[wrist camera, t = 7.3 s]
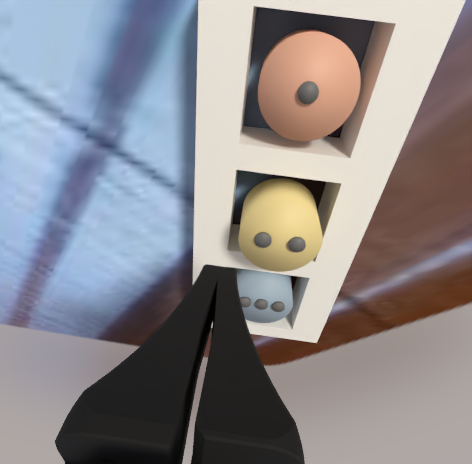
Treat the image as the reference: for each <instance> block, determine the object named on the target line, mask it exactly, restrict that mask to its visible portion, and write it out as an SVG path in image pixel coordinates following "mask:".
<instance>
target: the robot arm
mask: <svg viewBox="0 0 472 464" xmlns="http://www.w3.org/2000/svg"><path fill="white" fill-rule="evenodd" d="M212 322H213V327H212V339H211V346H210V351H209V357H208V362H207V367H206V372H205V378H204V383H203V388H202V392H201V398H200V402H199V407H198V412H197V417H196V422H195V431H194V445H193V455H192V460H191V464H305V463H304V454H303V449H302V444H301V440H300V436H299V433H298V429H297V426H296V423H295V421H294V419H293V418H292V416H291V415H290V413H289V411H288V410H287V408H286V406H285V405H284V403H283V402H282V400H281V398H280V396H279V395H278V393H277V391H276V389H275V387H274V386H273V384H272V382H271V380H270V378H269V376H268V374H267V372H266V370H265V368H264V366H263V364H262V362H261V360H260V357H259V355H258V353H257V350H256V348H255V345H254V343H253V340H252V338H251V335H250V332H249V329H248V326H247V323H246V320H245V317H244V313H243V309H242V305H241V301H240V297H239V291H238V284H237V270H236V269H235V268H229V267H222V266H215V265H208V264H206V265H204V266H203V268H202V270H201V272H200V274H199V276H198V278H197V279H196V281H195V283H194V284H193V286H192V287H191V289H190V290H189V292H188V293H187V294H186V296H185V297H184V299H183V300H182V301H181V303H180V304H179V305H178V306H177V308H176V309H175V310H174V311H173V313H172V314H171V315H170V316H169V317H168V319H167V320H166V321H165V322H164V323H163V324H162V325H161V326H160V327H159V328H158V330H157V331H156V332H155V333H154V334H153V335H152V336H151V337H150V338H149V339H148V340H147V341H145V342H144V343H143V344H142V345H141V346H140V347H139V348H138V349H137V350H136V351H135V352H134V353H132V354H131V355H130V356H129V357H128V358H127V359H125V360H124V361H123V362H122V363H120V364H119V365H118V366H117V367H116V368H114V369H113V370H112V371H111V372H109V373H108V374H107V375H105V376H104V377H102V378H101V379H100V380H98V381H97V382H96V383H94V384H93V385H92V386H90V387H89V388H87V389H86V390H85V391H84V392H83V393H82V395H81V396H80V397H79V399H78V400H77V401H76V403H75V405H74V406H73V407H72V409H71V411H70V413H69V414H68V416H67V417H66V420H65V422H64V423H63V426H62V428H61V430H60V432H59V434H58V436H57V438H56V440H55V444H56V447H57V449H58V451H59V453H60V454H61V456H62V458H63V459H64V461H65V464H182V460H183V455H184V449H185V444H186V437H187V432H188V427H189V421H190V416H191V410H192V405H193V399H194V394H195V388H196V383H197V378H198V374H199V369H200V366H201V362H202V359H203V355H204V351H205V348H206V344H207V341H208V337H209V333H210V330H211V326H212Z"/></svg>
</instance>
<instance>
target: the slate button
mask: <svg viewBox="0 0 472 464" xmlns="http://www.w3.org/2000/svg"><path fill="white" fill-rule="evenodd" d="M235 269H236V270H237V284H238V291H239V297H240V301H241V305H242V309H243V313H244V317H245V319H246V320H249V321H252V322H256V323H271V322H275V321H278V320H281V319H283V318H284V317H286V316H287V315H288V314H289V313H290V311H291V310H292V307H293V296H292V282H291V275H284V274H276V273H269V272H262V271H255V270H247V269H240V268H235Z"/></svg>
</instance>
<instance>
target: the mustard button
mask: <svg viewBox="0 0 472 464" xmlns="http://www.w3.org/2000/svg"><path fill="white" fill-rule="evenodd" d="M238 240H239V246H240V249H241V251H242V253H243V255H244V256H245V257H246V258H247V259H248V260H249V261H250V262H251V263H252V264H254V265H256V266H257V267H260V268H262V269H265V270H269V271H275V272H285V271H291V270H295V269H298V268H301V267H303V266H305V265H306V264H308V263H309V262H311V261H312V260H313V259H314V258H315V257H316V256H317V254H318V253H319V251H320V249H321V246H322V241H323V236H322V230H321V226H320V221H319V217H318V212H317V208H316V203H315V199H314V197H313V195H312V194H311V192H310V191H309V190H308V189H307V188H306V187H305V186H304V185H302V184H301V183H299V182H297V181H294V180H291V179H286V178H274V179H269V180H266V181H263V182H261V183H259V184H258V185H256V186H255V187H254V188H253V189H252V190H251V191H250V192H249V193H248V194H247V196H246V198H245V200H244V204H243V209H242V216H241V223H240V230H239V239H238Z"/></svg>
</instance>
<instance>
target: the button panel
mask: <svg viewBox="0 0 472 464" xmlns="http://www.w3.org/2000/svg"><path fill="white" fill-rule="evenodd" d="M465 1H466V0H198V43H197V93H196V142H195V191H194V241H193V284H194V283H195V281H196V279H197V278H198V276H199V274H200V272H201V270H202V268H203V266H204V265H206V264H208V265H215V266H222V267H233V268H240V269H247V270H255V271H262V272H269V273H276V274H284V275H291V276H297V280H296V283H295V286H294V290H293V293H292V296H293V307H292V310H291V311H290V313H289V314H288V315H287V316H286V317H284V318H283V319H281V320H278V321H275V322H271V323H256V322H252V321H249V320H246V319H245V320H246V323H247V326H248V329H249V332H250V334H257V335H264V336H271V337H278V338H285V339H293V340H300V341H307V342H314V343H317V341H318V339H319V336H320V334H321V332H322V330H323V327H324V325H325V323H326V320H327V318H328V316H329V313H330V311H331V309H332V307H333V304H334V302H335V300H336V297H337V295H338V293H339V290H340V288H341V286H342V284H343V281H344V279H345V277H346V274H347V272H348V270H349V267H350V265H351V263H352V261H353V258H354V256H355V254H356V251H357V249H358V247H359V244H360V242H361V240H362V238H363V235H364V233H365V231H366V228H367V226H368V224H369V221H370V219H371V217H372V215H373V212H374V210H375V208H376V205H377V203H378V201H379V198H380V196H381V194H382V192H383V189H384V187H385V185H386V182H387V180H388V178H389V175H390V173H391V171H392V169H393V166H394V164H395V162H396V159H397V157H398V155H399V152H400V150H401V148H402V146H403V143H404V141H405V139H406V136H407V134H408V132H409V129H410V127H411V125H412V122H413V120H414V118H415V116H416V113H417V111H418V109H419V106H420V104H421V102H422V99H423V97H424V95H425V93H426V90H427V88H428V86H429V83H430V81H431V79H432V76H433V74H434V72H435V70H436V67H437V65H438V63H439V60H440V58H441V56H442V53H443V51H444V49H445V47H446V44H447V42H448V40H449V37H450V35H451V33H452V30H453V28H454V26H455V24H456V21H457V19H458V17H459V14H460V12H461V10H462V7H463V5H464V3H465ZM257 7H265V8H273V9H281V10H289V11H297V12H305V13H314V14H322V15H330V16H338V17H346V18H354V19H362V20H371V21H375V23H374V26H373V30H372V33H371V36H370V40H369V43H368V46H367V49H366V53H365V56H364V59H363V63H362V66H361V69H360V77H361V85H360V92H359V96H358V100H357V102H356V105H355V107H354V109H353V111H352V113H351V114H350V116H349V117H348V118H347V120H346V121H345V122H344V125H343V128H342V132H341V135H340V138H335V137H328V136H325V137H323V138H320V139H317V140H313V141H304V142H303V141H294V140H290V139H287V138H284V137H282V136H280V135H279V134H277V133H276V132H275V131H274V130H273V129H266V128H258V127H250V126H243V125H244V116H245V107H246V98H247V89H248V80H249V71H250V62H251V53H252V44H253V35H254V26H255V17H256V8H257ZM238 170H243V171H250V172H258V173H265V174H273V175H281V176H288V177H296V178H303V179H311V180H318V181H326V184H325V188H324V191H323V194H322V197H321V201H320V204H319V207H318V211H317V212H318V217H319V221H320V226H321V230H322V236H323V241H322V246H321V249H320V251H319V253H318V254H317V256H316V257H315V258H314V259H313V260H312V261H311V262H309V263H308V264H306V265H305V266H303V267H301V268H298V269H295V270H291V271H285V272H275V271H269V270H265V269H262V268H260V267H257V266H256V265H254V264H252V263H251V262H250V261H249V260H248V259H247V258H246V257H245V256H244V255H243V253H242V251H241V249H240V246H239V240H238V239H239V230H240V225H237V224H232V223H233V214H234V205H235V196H236V187H237V178H238ZM212 327H213V322H212V326H211V328H212Z"/></svg>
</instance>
